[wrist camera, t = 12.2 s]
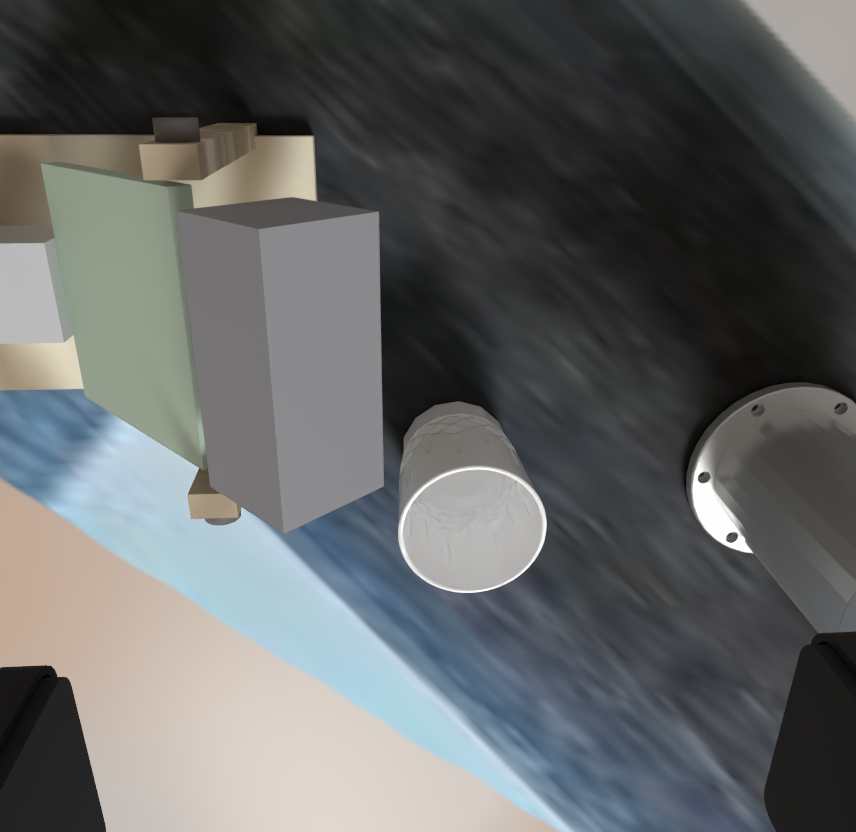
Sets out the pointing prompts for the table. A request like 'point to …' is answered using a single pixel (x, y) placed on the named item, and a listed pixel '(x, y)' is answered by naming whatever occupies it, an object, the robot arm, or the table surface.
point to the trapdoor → (230, 333)
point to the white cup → (466, 501)
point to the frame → (154, 160)
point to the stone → (31, 287)
